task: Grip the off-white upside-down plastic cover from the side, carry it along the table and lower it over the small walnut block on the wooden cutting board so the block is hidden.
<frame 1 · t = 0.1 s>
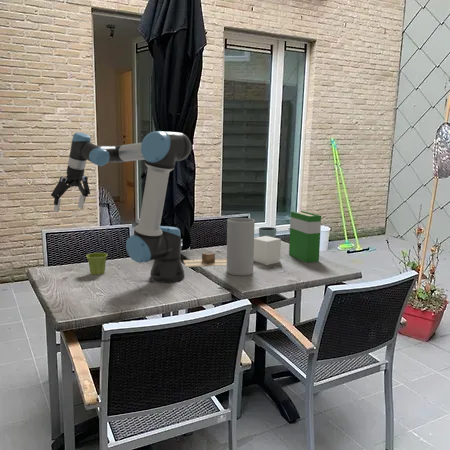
hand: (68, 209, 212), 28 cm above the table, tool tilted 20°, fingers open, 13 cm apart
wooden cutting board: (208, 263, 227), on the table
walnut block: (208, 262, 227), point 1 cm above the table, touching wooden cutting board
hardback book: (303, 258, 242), on the table
white cover: (265, 261, 233), on the table
cylinder vase: (239, 272, 212), on the table
plant pot: (97, 274, 207), on the table
grey-blue cup: (266, 249, 262), on the table
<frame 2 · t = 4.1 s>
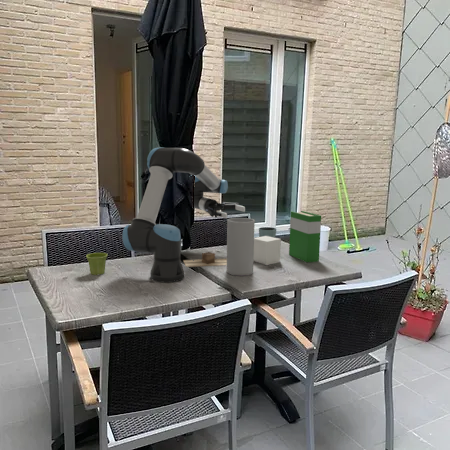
hand: (235, 212, 239), 24 cm above the table, tool horizontal, fingers open, 13 cm apart
nothing on the table moved.
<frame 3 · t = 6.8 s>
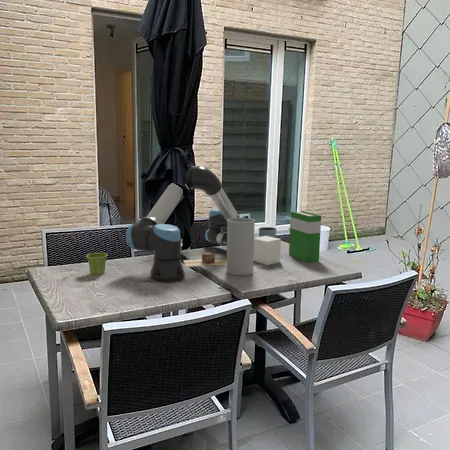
hand: (253, 245, 239), 6 cm above the table, tool horizontal, fingers open, 13 cm apart
nothing on the table moved.
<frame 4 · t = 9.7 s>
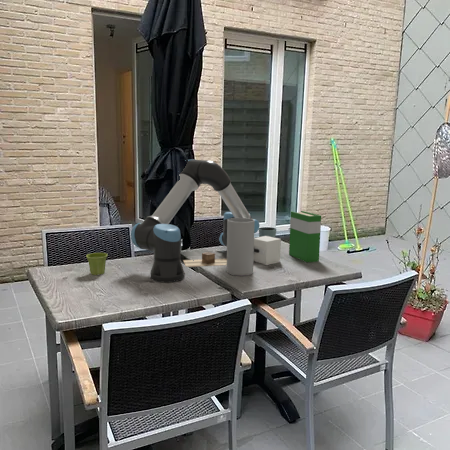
hand: (272, 250, 229), 6 cm above the table, tool horizontal, fingers closed on white cover, 10 cm apart
white cover: (265, 261, 233), on the table, touching gripper
everything else where it was.
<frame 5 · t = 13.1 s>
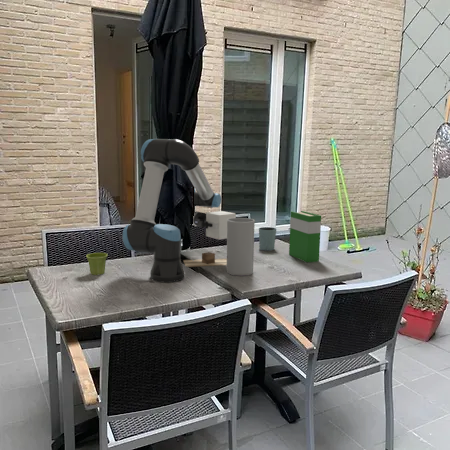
hand: (226, 225, 223), 20 cm above the table, tool horizontal, fingers closed on white cover, 10 cm apart
white cover: (220, 236, 227), point 13 cm above the table, touching gripper
everything else where it was.
when the fingers open (9 cm above the table, at t = 16.4 s): white cover drops 1 cm, resting on wooden cutting board.
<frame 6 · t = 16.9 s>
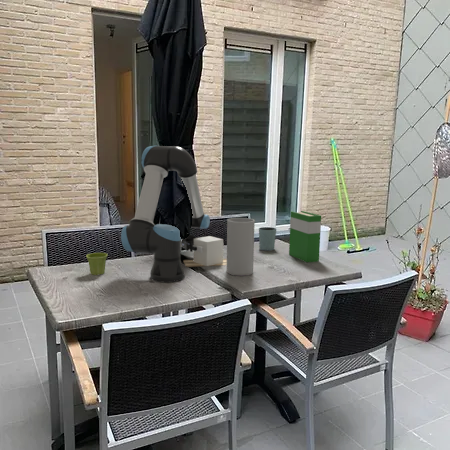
hand: (212, 248, 223), 9 cm above the table, tool horizontal, fingers open, 13 cm apart
white cover: (208, 262, 227), point 1 cm above the table, touching wooden cutting board
everything else where it was.
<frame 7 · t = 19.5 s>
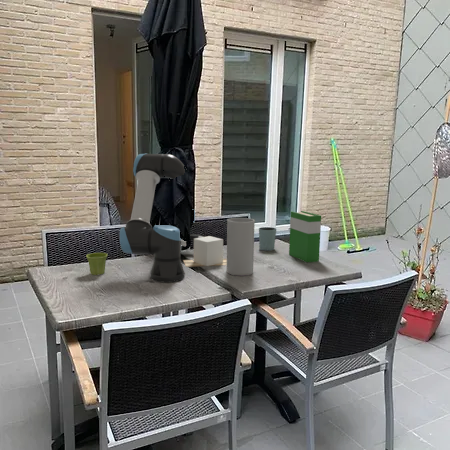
hand: (196, 242, 233), 9 cm above the table, tool horizontal, fingers open, 13 cm apart
nothing on the table moved.
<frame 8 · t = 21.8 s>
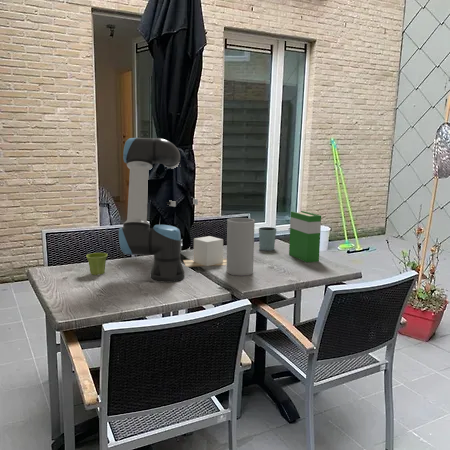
hand: (186, 202, 226), 30 cm above the table, tool horizontal, fingers open, 13 cm apart
nothing on the table moved.
at the end: white cover 0.1 cm off-centre on the walnut block, point 0.0 cm above the walnut block's base; white cover tilted 0°; walnut block moved 0.0 cm from its start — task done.
